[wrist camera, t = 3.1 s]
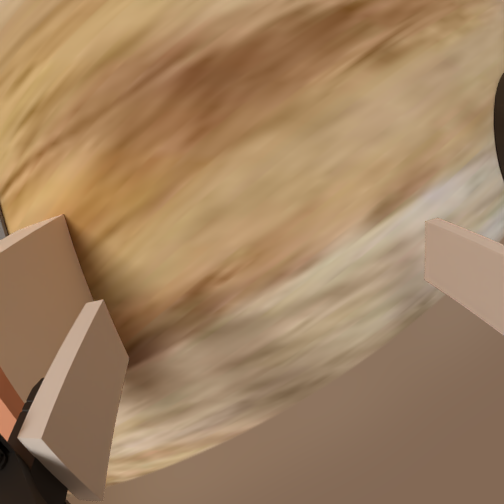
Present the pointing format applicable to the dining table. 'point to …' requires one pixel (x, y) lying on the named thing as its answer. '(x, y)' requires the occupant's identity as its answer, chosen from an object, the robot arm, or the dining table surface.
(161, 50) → the dining table surface
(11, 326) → the tall block
